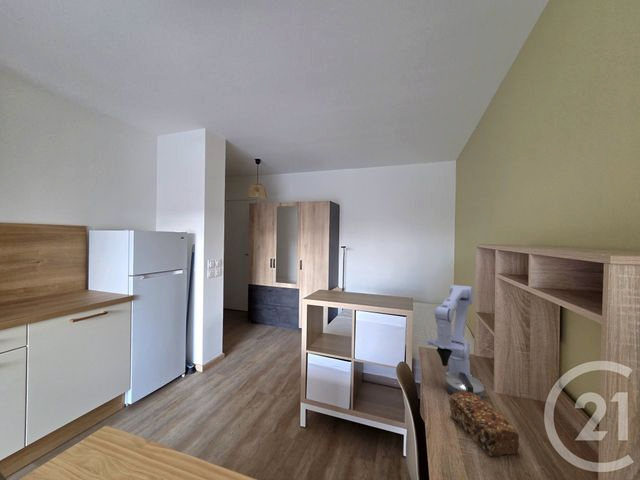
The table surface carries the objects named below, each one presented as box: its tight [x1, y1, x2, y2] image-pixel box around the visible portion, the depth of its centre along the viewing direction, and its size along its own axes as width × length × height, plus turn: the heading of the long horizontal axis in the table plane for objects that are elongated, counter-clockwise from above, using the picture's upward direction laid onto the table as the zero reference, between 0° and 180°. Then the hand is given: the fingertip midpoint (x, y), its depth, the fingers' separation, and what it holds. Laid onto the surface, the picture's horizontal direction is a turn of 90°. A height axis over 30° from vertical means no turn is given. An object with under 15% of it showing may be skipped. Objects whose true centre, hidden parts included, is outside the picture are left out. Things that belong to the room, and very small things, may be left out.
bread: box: [449, 391, 520, 457], centre depth 83 cm, size 19×11×10 cm, turn 7°
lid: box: [445, 372, 485, 393], centre depth 104 cm, size 16×14×3 cm
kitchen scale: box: [446, 382, 484, 400], centre depth 103 cm, size 18×14×4 cm
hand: (445, 365), depth 109 cm, fingers closed
